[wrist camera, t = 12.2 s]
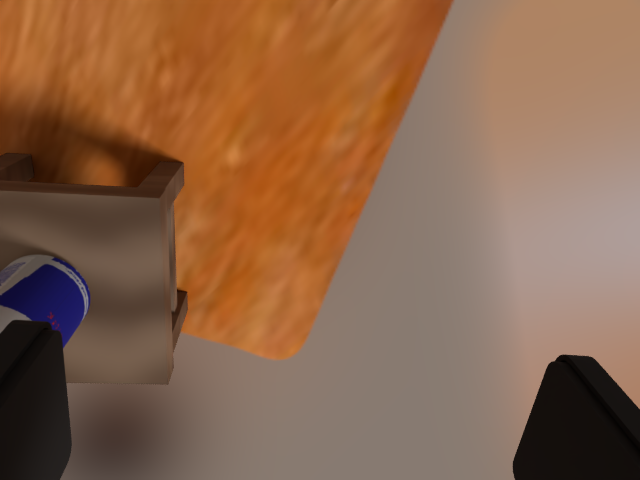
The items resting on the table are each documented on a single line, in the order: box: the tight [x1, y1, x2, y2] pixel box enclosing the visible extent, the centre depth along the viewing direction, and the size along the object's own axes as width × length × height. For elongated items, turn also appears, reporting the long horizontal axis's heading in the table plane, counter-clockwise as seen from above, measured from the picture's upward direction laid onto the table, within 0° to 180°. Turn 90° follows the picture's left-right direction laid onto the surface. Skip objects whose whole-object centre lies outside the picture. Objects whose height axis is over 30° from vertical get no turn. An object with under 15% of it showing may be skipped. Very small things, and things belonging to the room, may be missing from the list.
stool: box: [0, 153, 188, 385], centre depth 39 cm, size 14×14×10 cm
